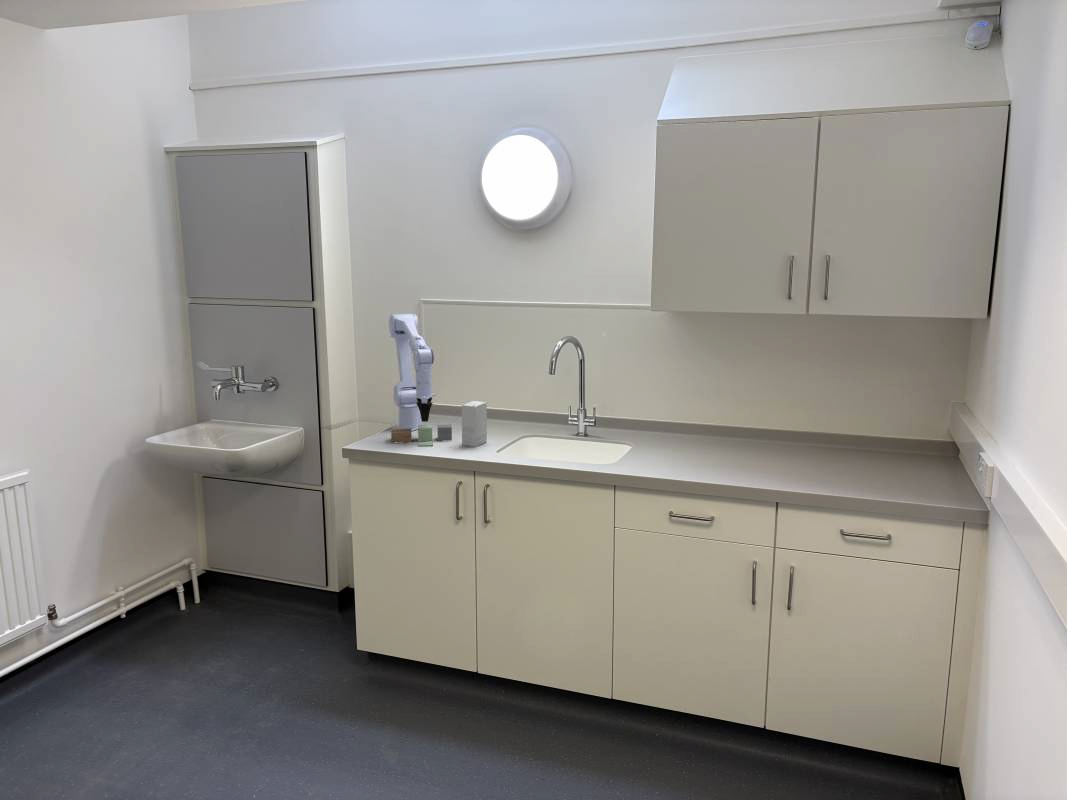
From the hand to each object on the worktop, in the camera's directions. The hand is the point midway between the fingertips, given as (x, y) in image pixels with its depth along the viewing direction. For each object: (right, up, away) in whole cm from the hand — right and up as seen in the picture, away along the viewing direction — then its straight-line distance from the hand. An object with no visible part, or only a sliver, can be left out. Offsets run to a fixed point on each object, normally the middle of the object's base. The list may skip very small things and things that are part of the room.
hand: (424, 419), depth 281 cm
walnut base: (-8, -8, 0) cm, 12 cm away
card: (+1, -9, -6) cm, 11 cm away
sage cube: (0, -8, +2) cm, 8 cm away
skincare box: (+18, -9, -5) cm, 21 cm away
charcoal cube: (+7, -7, +3) cm, 10 cm away
